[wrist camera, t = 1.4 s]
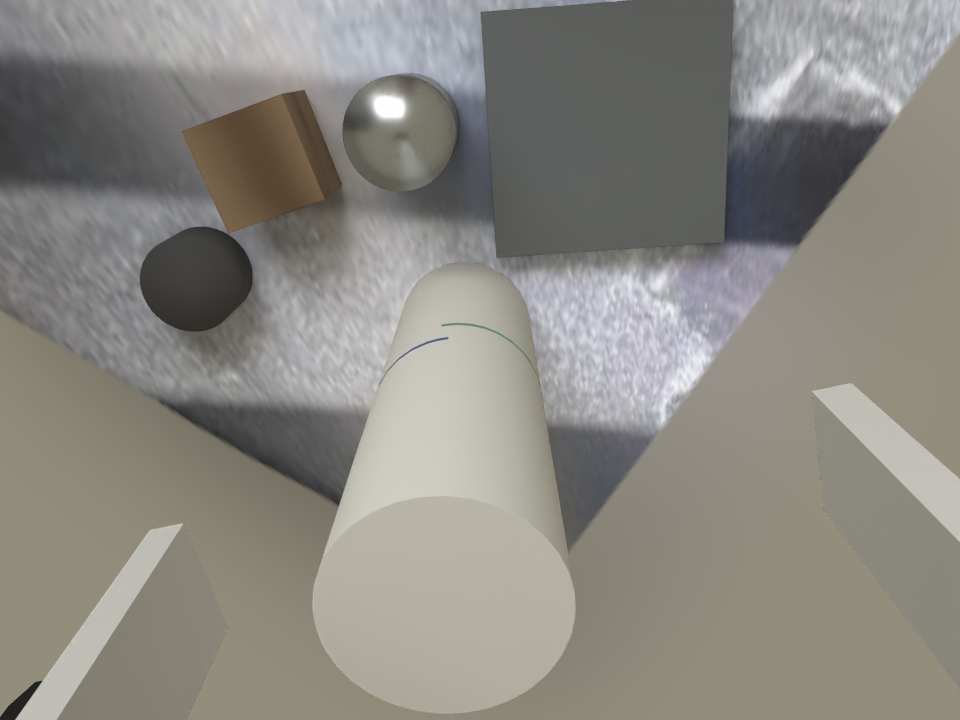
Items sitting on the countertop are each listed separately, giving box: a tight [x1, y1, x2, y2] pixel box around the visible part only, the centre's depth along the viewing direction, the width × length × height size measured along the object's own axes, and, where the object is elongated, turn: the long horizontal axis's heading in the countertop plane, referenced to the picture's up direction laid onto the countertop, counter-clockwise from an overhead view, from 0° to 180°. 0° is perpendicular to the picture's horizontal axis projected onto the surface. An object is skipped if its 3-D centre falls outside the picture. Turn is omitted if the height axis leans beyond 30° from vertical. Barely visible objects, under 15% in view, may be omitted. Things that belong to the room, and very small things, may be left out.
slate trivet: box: [481, 0, 733, 258], centre depth 41 cm, size 12×12×1 cm
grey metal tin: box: [343, 73, 459, 191], centre depth 38 cm, size 5×5×6 cm
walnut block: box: [182, 90, 342, 233], centre depth 40 cm, size 5×5×5 cm
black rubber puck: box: [140, 227, 252, 331], centre depth 43 cm, size 5×5×3 cm
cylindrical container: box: [312, 262, 576, 714], centre depth 33 cm, size 7×7×25 cm
